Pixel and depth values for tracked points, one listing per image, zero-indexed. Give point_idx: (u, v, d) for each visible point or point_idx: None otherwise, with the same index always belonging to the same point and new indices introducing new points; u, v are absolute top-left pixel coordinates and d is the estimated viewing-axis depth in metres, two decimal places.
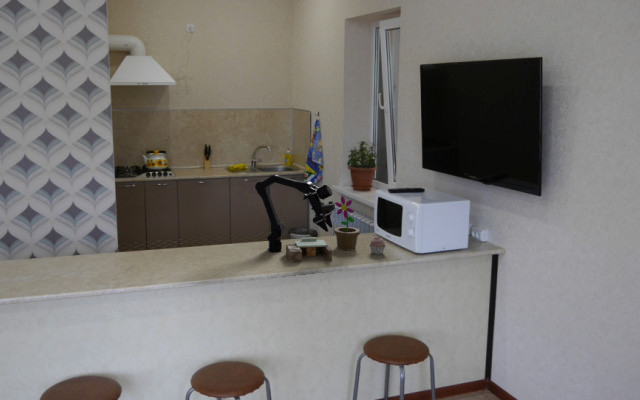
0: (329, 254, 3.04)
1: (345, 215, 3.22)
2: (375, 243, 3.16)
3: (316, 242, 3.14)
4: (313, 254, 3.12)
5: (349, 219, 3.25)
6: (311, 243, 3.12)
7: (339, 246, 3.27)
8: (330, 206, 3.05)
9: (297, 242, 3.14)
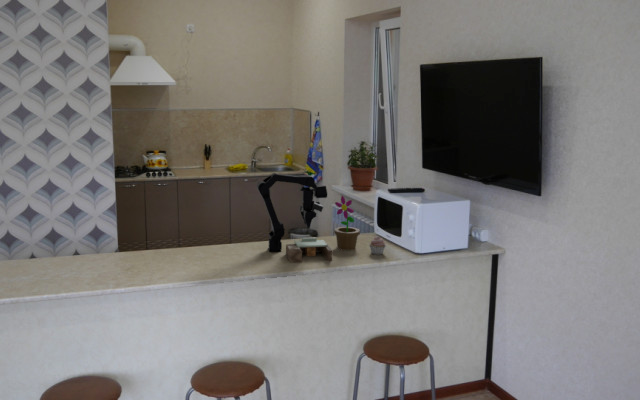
0: (329, 254, 3.04)
1: (345, 215, 3.22)
2: (375, 243, 3.16)
3: (316, 242, 3.14)
4: (313, 254, 3.12)
5: (349, 219, 3.25)
6: (311, 243, 3.12)
7: (339, 246, 3.27)
8: (321, 207, 3.19)
9: (297, 242, 3.14)
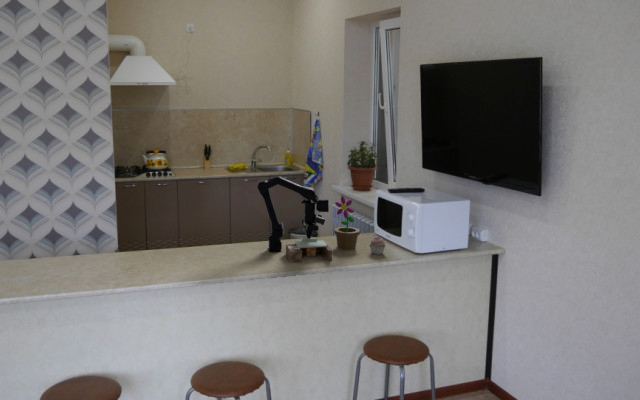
0: (329, 254, 3.04)
1: (345, 215, 3.22)
2: (375, 243, 3.16)
3: (316, 242, 3.13)
4: (313, 254, 3.12)
5: (349, 219, 3.25)
6: (311, 244, 3.11)
7: (339, 246, 3.27)
8: (323, 220, 3.15)
9: (297, 242, 3.13)
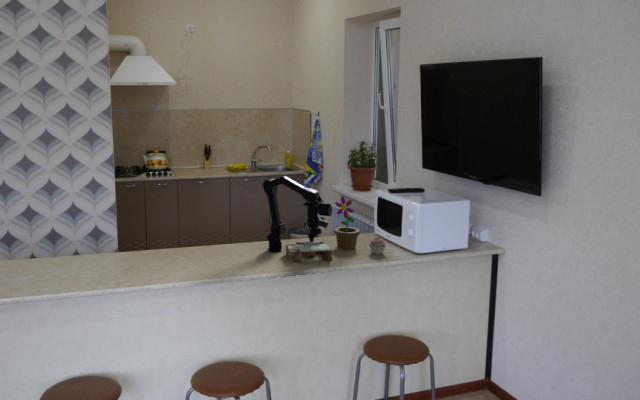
0: (329, 254, 3.04)
1: (345, 215, 3.22)
2: (375, 243, 3.16)
3: (319, 246, 3.07)
4: (313, 254, 3.12)
5: (349, 219, 3.25)
6: (314, 247, 3.04)
7: (339, 246, 3.27)
8: (326, 223, 3.08)
9: (299, 246, 3.06)
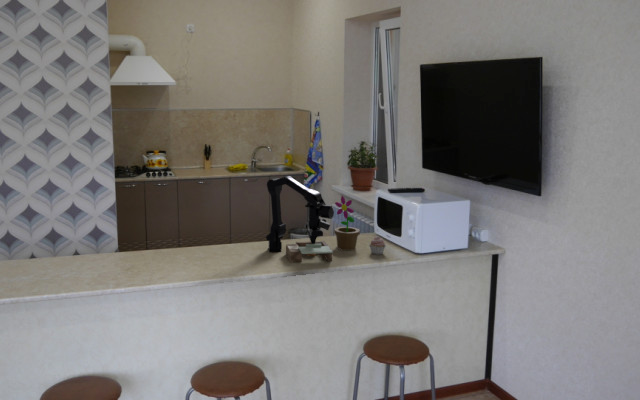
0: (329, 254, 3.04)
1: (345, 215, 3.22)
2: (375, 243, 3.16)
3: (321, 248, 3.03)
4: (313, 254, 3.12)
5: (349, 219, 3.25)
6: (315, 250, 3.00)
7: (339, 246, 3.27)
8: (328, 225, 3.04)
9: (301, 248, 3.02)
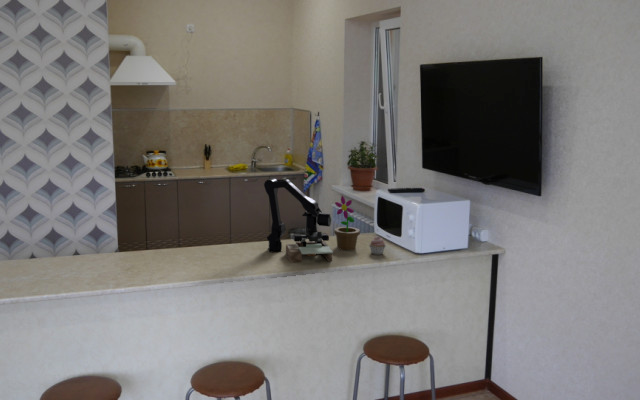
0: (329, 254, 3.04)
1: (345, 215, 3.22)
2: (375, 243, 3.16)
3: (321, 248, 3.02)
4: (313, 254, 3.12)
5: (349, 219, 3.25)
6: (315, 250, 3.00)
7: (339, 246, 3.27)
8: (309, 236, 3.05)
9: (301, 248, 3.02)
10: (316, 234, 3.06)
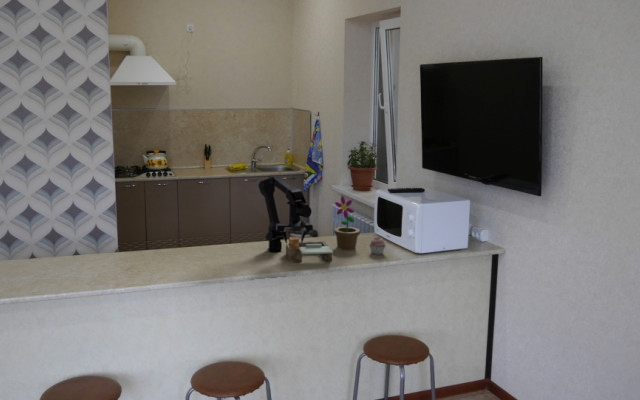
0: (329, 254, 3.04)
1: (345, 215, 3.22)
2: (375, 243, 3.16)
3: (321, 248, 3.02)
4: (296, 247, 3.04)
5: (349, 219, 3.25)
6: (315, 250, 3.00)
7: (339, 246, 3.27)
8: (292, 226, 2.96)
9: (301, 248, 3.02)
10: (299, 223, 2.98)
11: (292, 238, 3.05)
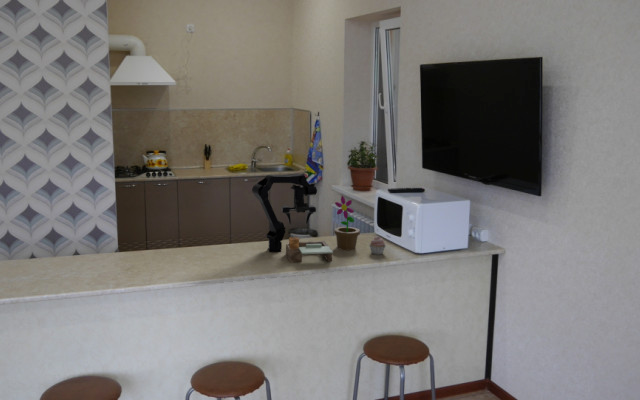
0: (329, 254, 3.04)
1: (345, 215, 3.22)
2: (375, 243, 3.16)
3: (321, 248, 3.02)
4: (296, 247, 3.04)
5: (349, 219, 3.25)
6: (315, 250, 3.00)
7: (339, 246, 3.27)
8: (296, 207, 3.17)
9: (301, 248, 3.02)
10: (303, 205, 3.18)
11: (292, 238, 3.05)
